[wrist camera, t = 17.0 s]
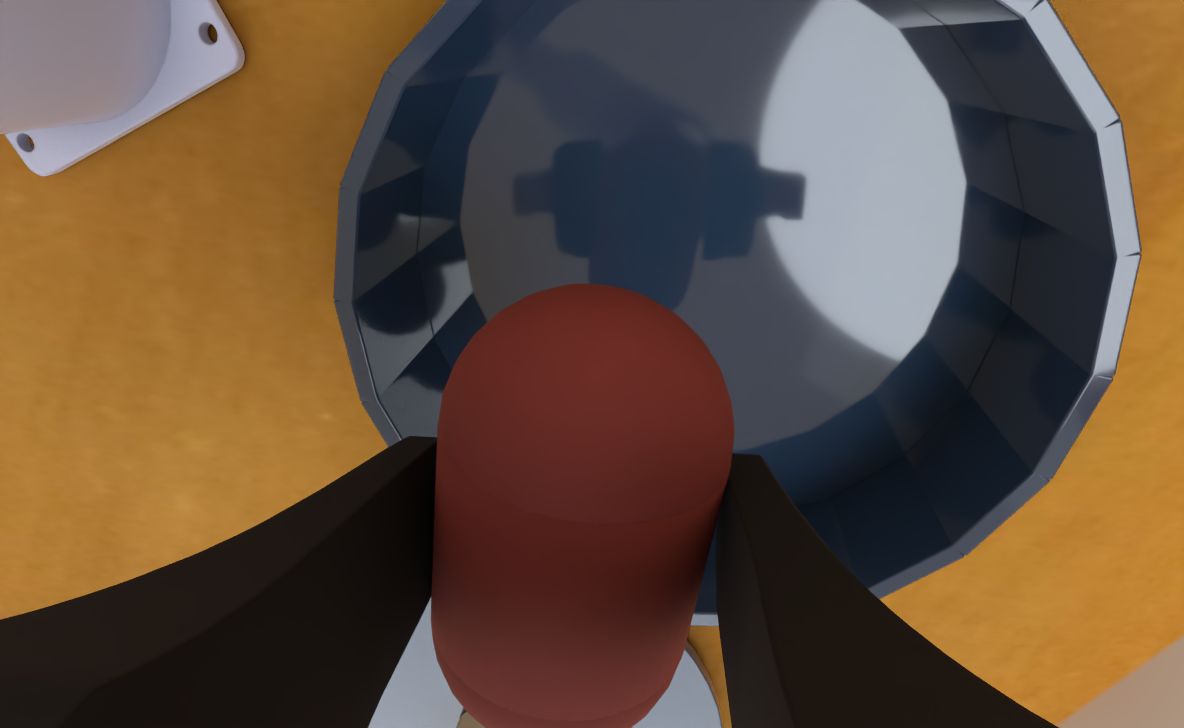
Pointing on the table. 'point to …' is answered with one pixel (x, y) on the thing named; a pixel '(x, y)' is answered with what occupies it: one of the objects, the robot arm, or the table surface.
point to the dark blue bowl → (770, 234)
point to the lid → (441, 724)
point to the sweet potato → (575, 507)
